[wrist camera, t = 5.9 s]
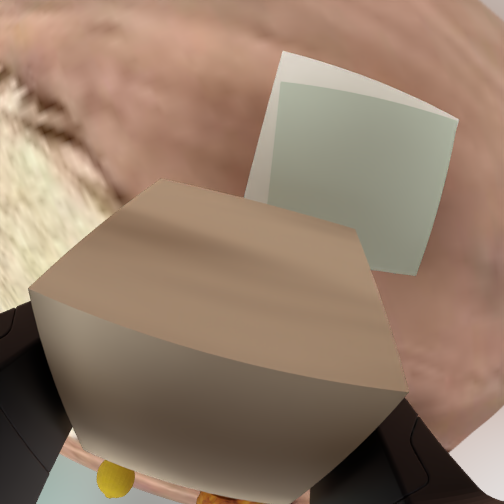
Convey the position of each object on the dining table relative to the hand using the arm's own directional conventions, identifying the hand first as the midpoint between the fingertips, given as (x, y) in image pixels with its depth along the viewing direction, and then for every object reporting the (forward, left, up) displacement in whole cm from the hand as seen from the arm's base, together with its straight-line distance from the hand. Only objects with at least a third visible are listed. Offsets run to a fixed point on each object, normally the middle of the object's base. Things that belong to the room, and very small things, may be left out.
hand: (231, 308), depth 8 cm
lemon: (-44, +10, -11) cm, 47 cm away
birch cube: (0, 0, -1) cm, 1 cm away
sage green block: (+3, -3, -8) cm, 10 cm away
